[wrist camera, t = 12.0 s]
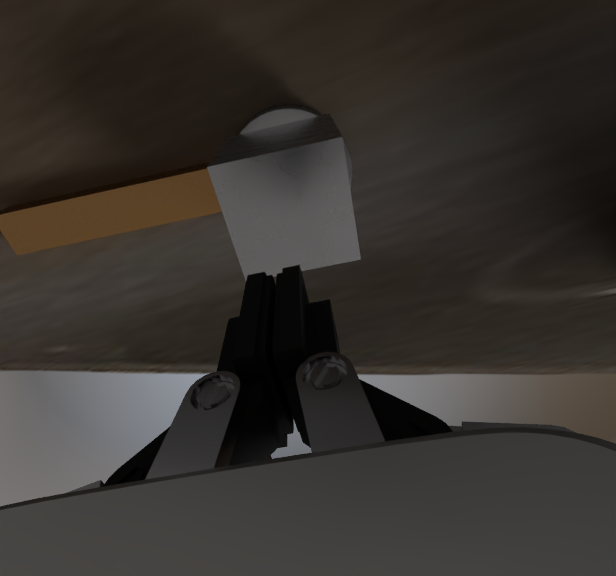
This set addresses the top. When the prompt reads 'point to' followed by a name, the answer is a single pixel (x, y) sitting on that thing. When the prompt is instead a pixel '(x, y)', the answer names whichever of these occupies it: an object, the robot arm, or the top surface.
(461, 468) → the robot arm
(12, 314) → the top surface
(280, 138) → the white block
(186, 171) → the hammer
